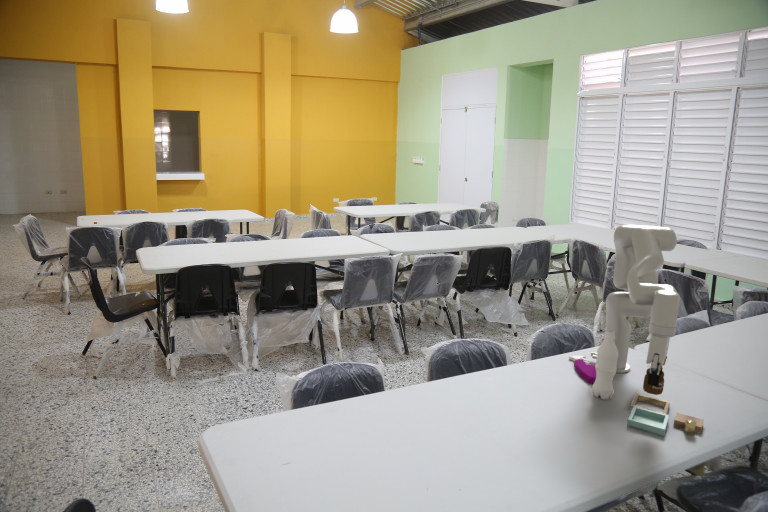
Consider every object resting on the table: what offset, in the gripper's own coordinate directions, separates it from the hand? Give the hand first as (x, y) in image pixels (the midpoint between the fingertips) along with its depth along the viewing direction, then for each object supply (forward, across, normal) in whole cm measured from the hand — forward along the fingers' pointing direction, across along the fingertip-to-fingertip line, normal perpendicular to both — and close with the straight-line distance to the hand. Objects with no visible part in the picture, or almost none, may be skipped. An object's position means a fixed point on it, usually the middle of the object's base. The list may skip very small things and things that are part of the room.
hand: (654, 381), depth 187 cm
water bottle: (+16, -12, -17) cm, 26 cm away
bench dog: (+15, -2, +12) cm, 20 cm away
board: (+16, -7, +11) cm, 21 cm away
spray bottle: (+16, -32, -27) cm, 45 cm away
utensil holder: (+4, 0, 0) cm, 4 cm away
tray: (+15, 0, 0) cm, 15 cm away
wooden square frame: (+15, -12, -1) cm, 20 cm away
